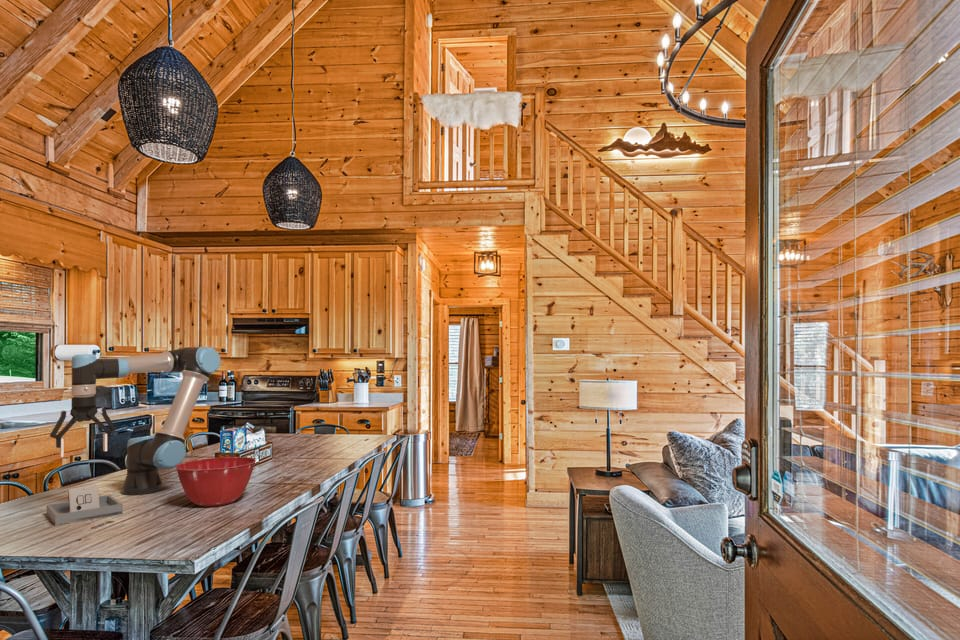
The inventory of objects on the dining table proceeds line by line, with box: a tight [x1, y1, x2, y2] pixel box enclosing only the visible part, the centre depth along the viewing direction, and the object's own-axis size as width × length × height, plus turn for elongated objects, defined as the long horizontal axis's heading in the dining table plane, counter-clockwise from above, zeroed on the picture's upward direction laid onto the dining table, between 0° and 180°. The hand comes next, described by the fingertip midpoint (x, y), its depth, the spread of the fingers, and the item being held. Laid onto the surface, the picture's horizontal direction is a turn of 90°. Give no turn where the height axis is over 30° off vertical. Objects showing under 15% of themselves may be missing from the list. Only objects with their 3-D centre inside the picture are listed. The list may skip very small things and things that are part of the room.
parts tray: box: [46, 494, 124, 526], centre depth 214 cm, size 20×20×4 cm
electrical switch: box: [67, 484, 100, 512], centre depth 214 cm, size 9×5×9 cm, turn 141°
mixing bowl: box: [174, 456, 257, 508], centre depth 228 cm, size 28×28×16 cm
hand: (83, 453), depth 217 cm, fingers open, 13 cm apart
